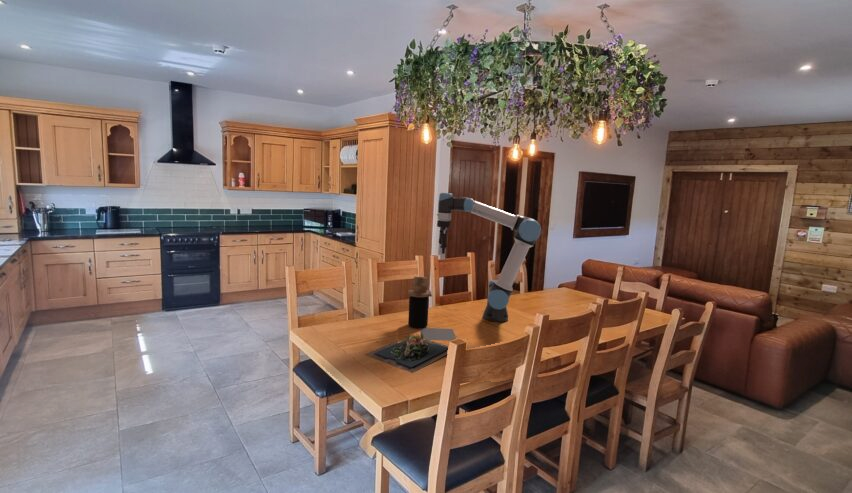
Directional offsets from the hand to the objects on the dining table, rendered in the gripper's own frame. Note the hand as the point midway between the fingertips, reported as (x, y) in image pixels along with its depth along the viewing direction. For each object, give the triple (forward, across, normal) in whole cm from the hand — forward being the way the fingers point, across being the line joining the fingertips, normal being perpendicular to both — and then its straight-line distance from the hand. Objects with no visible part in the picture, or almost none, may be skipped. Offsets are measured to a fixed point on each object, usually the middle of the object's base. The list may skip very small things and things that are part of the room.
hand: (441, 257), depth 254 cm
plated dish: (+37, +53, -16) cm, 66 cm away
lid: (+18, +16, -12) cm, 27 cm away
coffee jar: (+36, +16, -12) cm, 42 cm away
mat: (+37, +28, -2) cm, 46 cm away
